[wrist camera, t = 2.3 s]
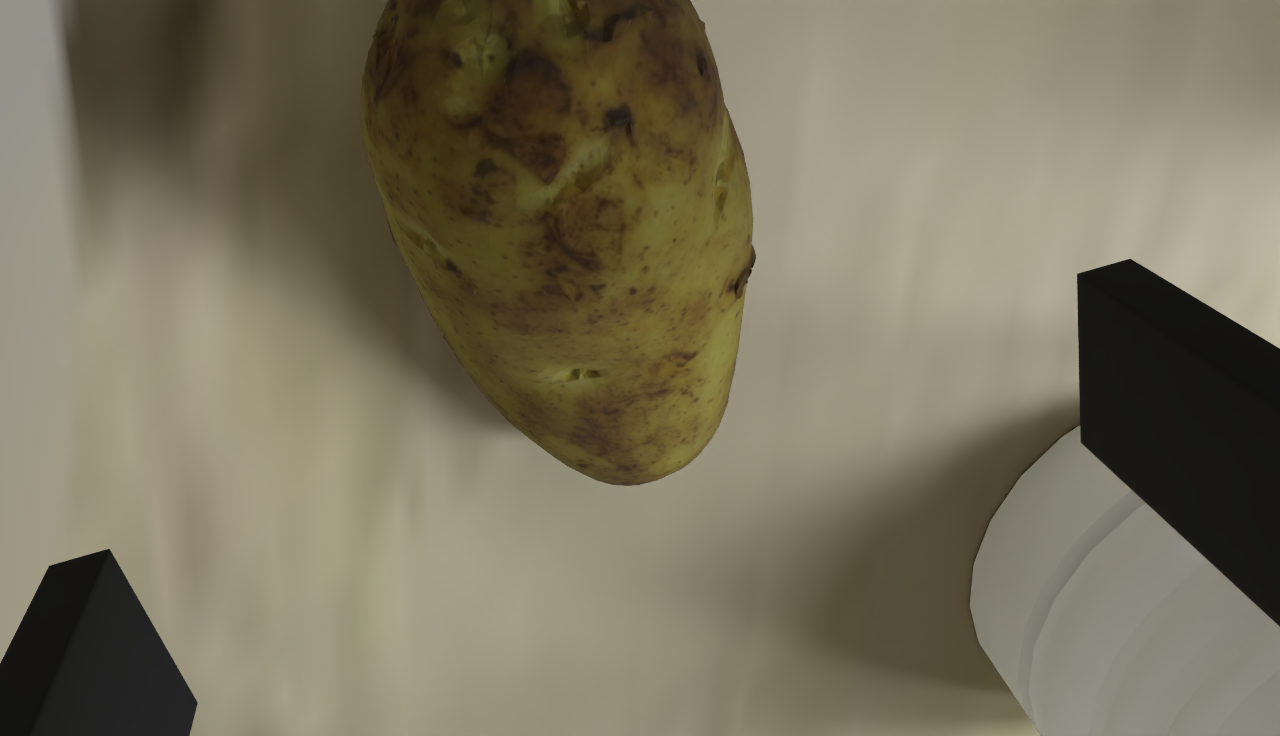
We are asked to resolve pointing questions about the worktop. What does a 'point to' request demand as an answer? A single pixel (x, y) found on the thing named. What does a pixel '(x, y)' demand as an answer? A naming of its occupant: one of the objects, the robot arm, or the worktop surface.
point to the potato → (569, 215)
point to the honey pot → (1116, 613)
